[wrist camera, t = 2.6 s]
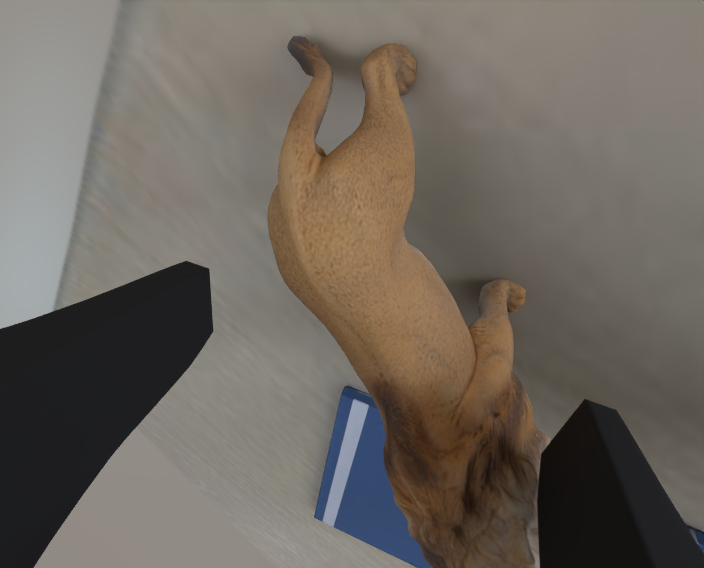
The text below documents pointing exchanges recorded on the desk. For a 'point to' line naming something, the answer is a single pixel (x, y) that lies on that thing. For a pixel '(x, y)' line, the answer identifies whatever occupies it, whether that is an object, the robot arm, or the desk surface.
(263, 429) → the desk surface
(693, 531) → the towel
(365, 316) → the lion figurine
